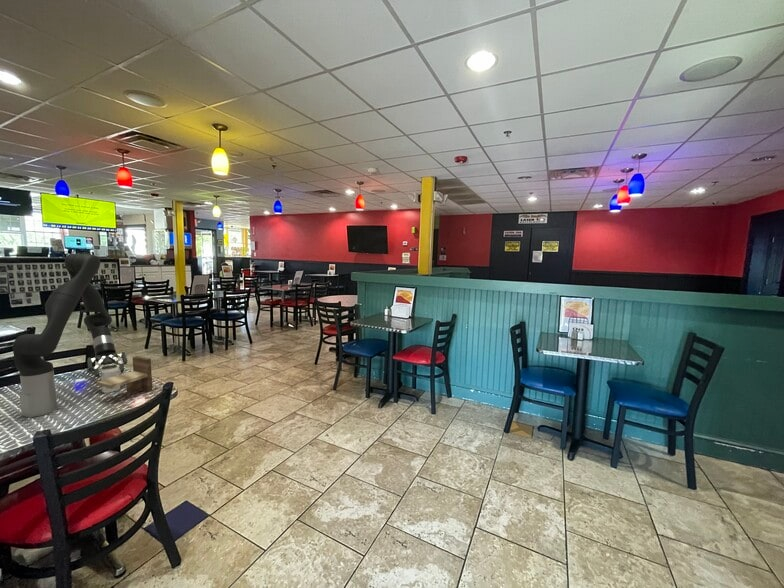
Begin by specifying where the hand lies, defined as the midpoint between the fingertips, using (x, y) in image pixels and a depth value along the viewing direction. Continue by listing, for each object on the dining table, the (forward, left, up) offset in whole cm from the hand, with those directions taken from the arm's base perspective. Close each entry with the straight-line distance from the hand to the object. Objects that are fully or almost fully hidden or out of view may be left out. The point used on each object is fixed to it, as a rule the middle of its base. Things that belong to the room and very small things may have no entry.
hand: (110, 374), depth 152 cm
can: (0, +1, -9) cm, 9 cm away
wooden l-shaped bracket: (-1, -11, -9) cm, 14 cm away
